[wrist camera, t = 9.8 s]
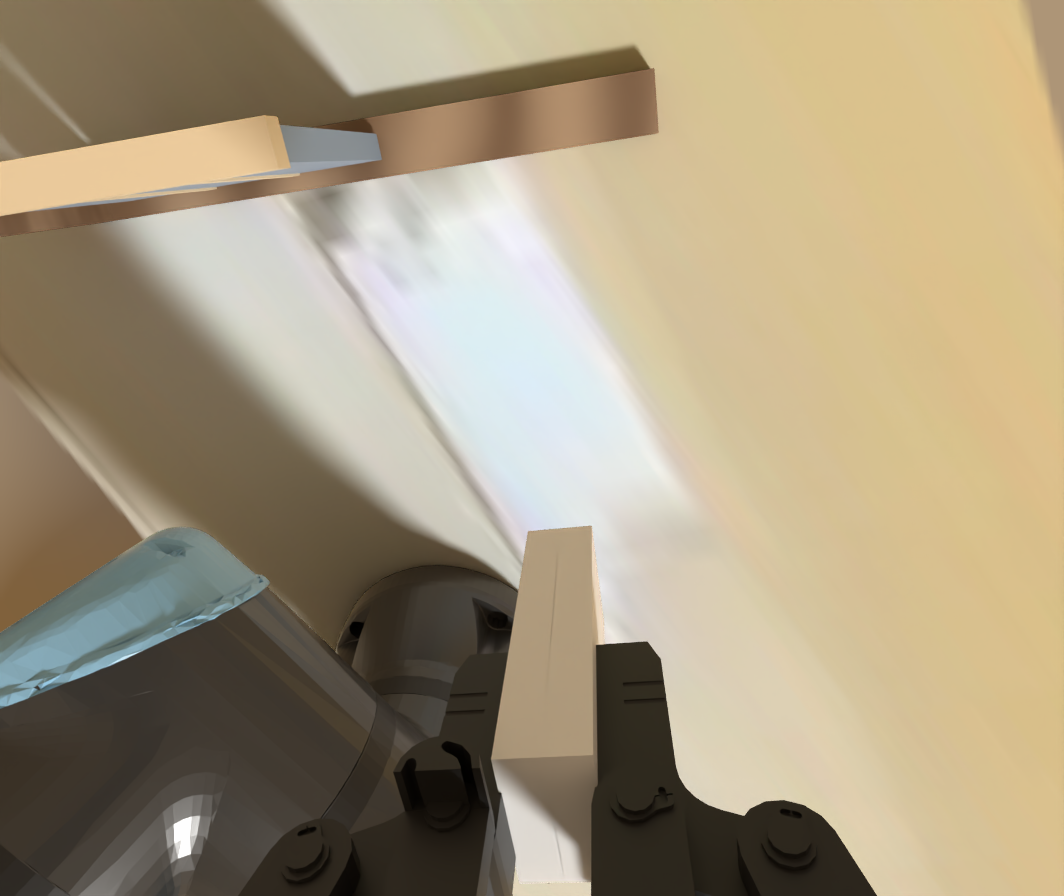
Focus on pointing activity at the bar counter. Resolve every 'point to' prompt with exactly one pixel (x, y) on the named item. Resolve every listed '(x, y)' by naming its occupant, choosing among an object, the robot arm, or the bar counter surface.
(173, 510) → the bar counter surface
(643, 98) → the brown wooden rack
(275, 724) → the robot arm
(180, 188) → the panel
